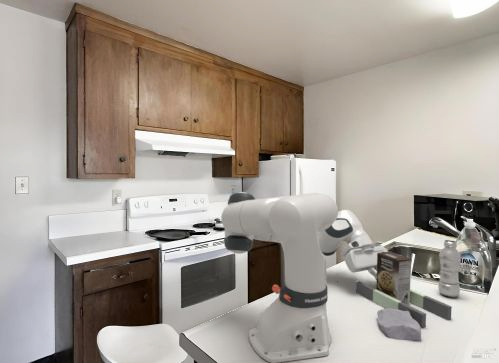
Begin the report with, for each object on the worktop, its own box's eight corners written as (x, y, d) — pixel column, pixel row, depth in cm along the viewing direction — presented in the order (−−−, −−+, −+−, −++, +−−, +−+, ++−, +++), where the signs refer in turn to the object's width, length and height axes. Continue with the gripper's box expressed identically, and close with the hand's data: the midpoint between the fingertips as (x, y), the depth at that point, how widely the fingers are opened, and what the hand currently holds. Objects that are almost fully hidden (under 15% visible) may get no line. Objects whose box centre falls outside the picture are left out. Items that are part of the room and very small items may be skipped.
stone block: (386, 345, 76) (426, 342, 75) (382, 328, 77) (422, 324, 75) (374, 323, 88) (408, 320, 86) (371, 308, 88) (405, 304, 87)
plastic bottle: (464, 297, 101) (466, 242, 100) (451, 300, 99) (453, 244, 98) (446, 290, 107) (447, 238, 106) (433, 293, 105) (435, 240, 104)
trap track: (422, 328, 81) (422, 314, 81) (355, 292, 105) (356, 281, 105) (451, 319, 86) (451, 306, 86) (381, 286, 110) (381, 276, 110)
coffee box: (375, 296, 102) (376, 252, 101) (388, 293, 104) (389, 250, 103) (396, 308, 93) (398, 260, 93) (410, 304, 96) (412, 257, 95)
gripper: (376, 247, 118) (395, 278, 109) (337, 252, 110) (355, 287, 101) (385, 239, 114) (406, 271, 105) (345, 244, 106) (365, 279, 97)
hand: (381, 279), depth 103 cm, fingers closed, pressing on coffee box
